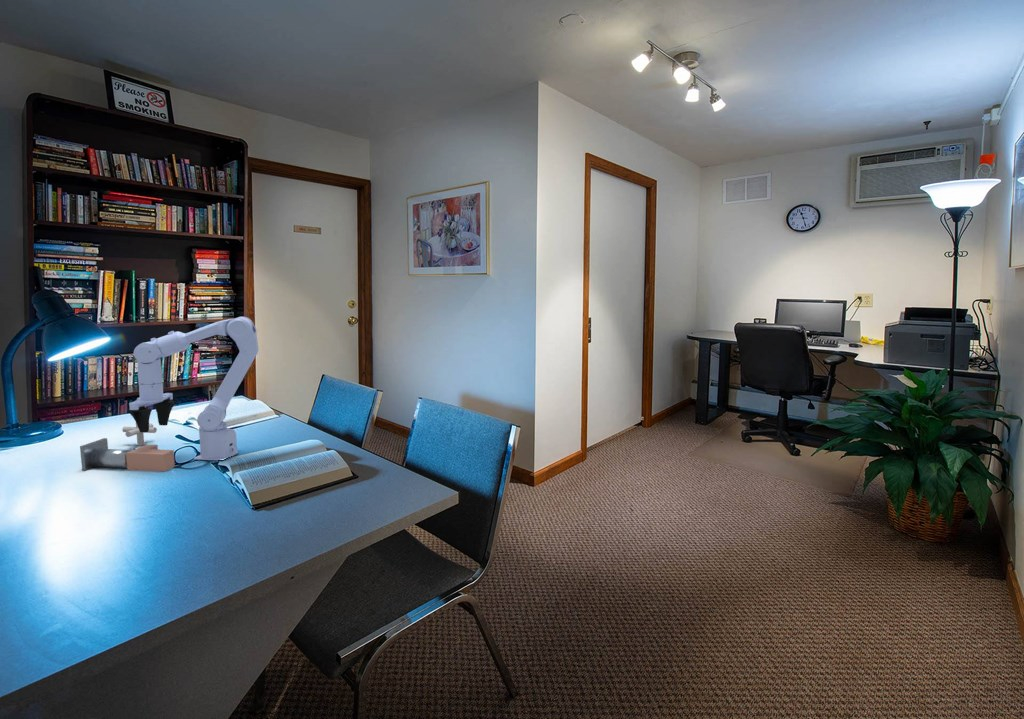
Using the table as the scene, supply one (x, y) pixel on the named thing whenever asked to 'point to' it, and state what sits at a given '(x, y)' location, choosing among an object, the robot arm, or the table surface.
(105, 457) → the grey cylinder with plate
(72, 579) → the table surface
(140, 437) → the pipe connector
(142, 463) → the tan piece
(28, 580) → the table surface
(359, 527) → the table surface
